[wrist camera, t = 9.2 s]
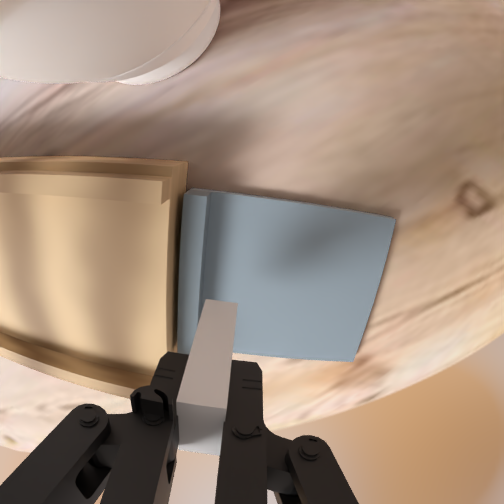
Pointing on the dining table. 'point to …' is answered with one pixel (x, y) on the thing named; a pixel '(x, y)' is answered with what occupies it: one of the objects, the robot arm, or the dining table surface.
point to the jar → (103, 39)
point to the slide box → (90, 266)
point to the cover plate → (281, 272)
